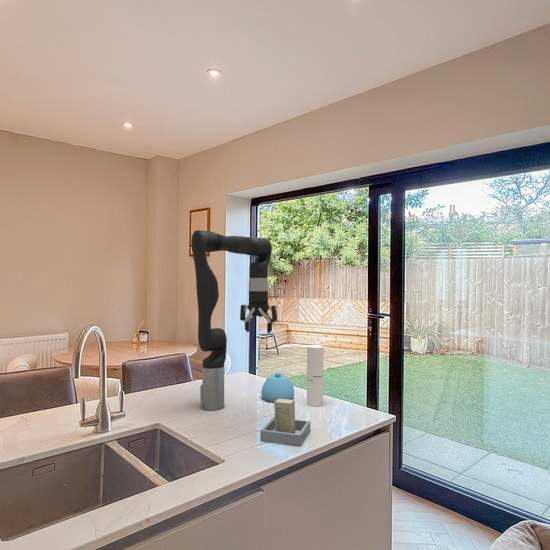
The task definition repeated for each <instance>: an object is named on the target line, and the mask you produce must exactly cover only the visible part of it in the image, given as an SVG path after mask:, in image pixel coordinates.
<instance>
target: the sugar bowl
mask: <svg viewBox="0 0 550 550" xmlns="http://www.w3.org/2000/svg"><path fill="white" fill-rule="evenodd" d="M261 396H262V397H263V399H264V400H265V401H267V402H270V403H274V402H275V401H276V400H278V399H288V400H293V397H294V396H295V389H294V386H293V383H292V382H291V380H290V378H289V377H288V375H284V374H282V372H278V371H277V372H274V374H272V375H268V377H267V378H266V379H265V381H264V383H263V385H262V387H261Z"/></svg>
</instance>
